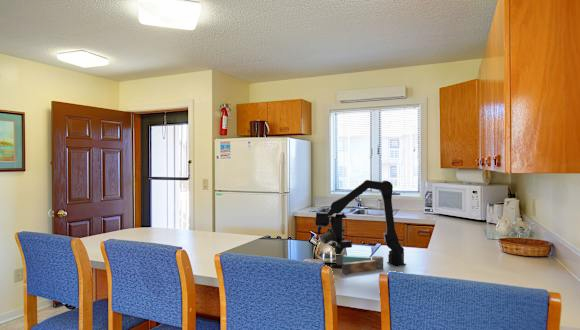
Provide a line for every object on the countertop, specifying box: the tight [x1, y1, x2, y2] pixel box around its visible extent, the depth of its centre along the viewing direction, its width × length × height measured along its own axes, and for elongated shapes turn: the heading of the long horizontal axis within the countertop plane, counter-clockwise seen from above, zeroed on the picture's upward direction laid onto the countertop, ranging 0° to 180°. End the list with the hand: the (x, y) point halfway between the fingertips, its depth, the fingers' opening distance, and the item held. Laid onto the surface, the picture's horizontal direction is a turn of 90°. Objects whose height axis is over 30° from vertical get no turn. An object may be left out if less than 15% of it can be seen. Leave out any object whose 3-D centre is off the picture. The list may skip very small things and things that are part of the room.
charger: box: [303, 258, 325, 264], centre depth 164 cm, size 5×9×15 cm
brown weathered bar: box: [335, 254, 372, 266], centre depth 177 cm, size 16×3×4 cm, turn 77°
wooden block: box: [341, 255, 384, 276], centre depth 169 cm, size 22×6×5 cm, turn 112°
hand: (337, 259), depth 183 cm, fingers closed
